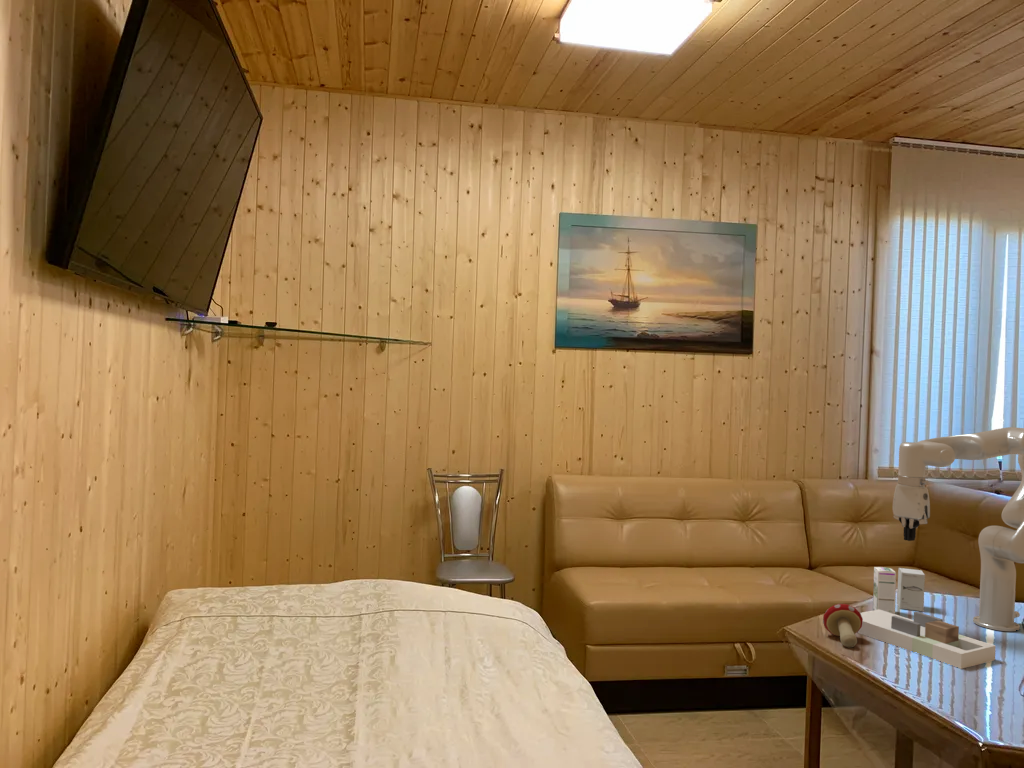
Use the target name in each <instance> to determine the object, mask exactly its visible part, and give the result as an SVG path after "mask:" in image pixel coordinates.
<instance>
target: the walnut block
mask: <svg viewBox="0 0 1024 768" xmlns="http://www.w3.org/2000/svg"><path fill="white" fill-rule="evenodd" d="M959 632H960V626H957V625H955V624H951V623H949V622H946V621H943V622H942V621H939V620H938V621H933V622H928V623H925V637H927V638H930V639H933V640H936V641H939V642H942V643H945V644H946V643H951V642H955V641H958V637H959V634H960V633H959Z"/></svg>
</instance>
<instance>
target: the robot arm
mask: <svg viewBox="0 0 1024 768" xmlns="http://www.w3.org/2000/svg"><path fill="white" fill-rule="evenodd" d="M898 449H899V451H898V470H897V471H898V475H897V476H898V477H897V484H895V488H894V493H893V500H892V513H893V516H892V517H893V519H895V520H897V521H899V522H900V523H901V526H902V527H903V540H904V541H908V542H912V541H913V542H914V541H915V539H916V537H917V533H916V532H917V530H916V529H918V527H919V526H920V525H927V524H928V519H930V517H931V502H930V494H929V490H928V487H925V486H926V485H929V480H926V466H929V467H935V468H947V467H948V466H951V465H952V464H953V463H954V462H955V460H963V461H964V460H965V461H978V460H979V461H981V460H986V459H992V458H997V457H1004V456H1009V455H1018V456H1017V463H1018V466H1019V468H1020V472H1021V482H1020V483H1019V486H1018V487H1017V489H1016V490H1015V492H1014V493H1013V494H1012V496H1011V498H1010V499H1009V500H1008V501H1007V503H1006V504H1005V506H1004V507H1003V509H1002V512H1001V520H1002V521H1003V522H1004V524H1005V525H1007V526H1009V527H1011V528H1009V527H1005V526H1002V525H1001V526H1000V525H988V526H986V527H984V528H982V529H981V531H980V532H979V534H978V541H977V542H978V548H979V554H980V578H979V581H980V583H979V584H980V585H979V605H978V615H975V616H974V617H973V619H972V622H973V623H974V624H976V625H977V626H979V627H982V628H986V629H989V630H993V631H1001V632H1017V631H1016V630H1018V631H1019V630H1020V627H1021V626H1020V624H1019V623H1017V622H1016V621H1015V619H1016V618H1020V617H1021V616H1020V615H1021V614H1020V612H1019V611H1017V610H1016V611H1015V607H1016V601H1015V600H1016V583H1017V582H1016V581H1017V569H1016V565H1015V563H1017V564H1024V427H1015V426H1011V427H1002V428H996V429H990V430H987V431H980V432H975V433H967V434H966V433H964V434H958V435H949V436H939V437H933V438H928V439H923V440H919V441H916V442H908V441H907V442H902V443H900V445H899V448H898ZM1012 528H1014V529H1012Z"/></svg>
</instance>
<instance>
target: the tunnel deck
mask: <svg viewBox="0 0 1024 768" xmlns="http://www.w3.org/2000/svg"><path fill="white" fill-rule="evenodd" d="M860 613H861V616H862V619H863V621H862V627H861V628H860V630H859V631H858V632H857V633H856V634H859V635H862V636H865V637H868V636H869V638H871V637H872V638H871V639H874V638H875V639H874V640H877V639H878V641H880V642H883V643H885V642H886V644H888V643H889V644H888V645H891V644H892V645H891V646H894V645H895V646H894V647H897V646H899V647H898V648H900V647H901V648H900V649H903V648H904V650H905V649H907V650H906V651H908V650H910V651H909V652H911V651H913V652H912V653H914V652H917V653H920V654H922V655H921V656H923V655H925V656H928V657H931V658H933V659H932V660H934V659H936V660H935V661H937V660H939V661H938V662H940V661H941V662H940V663H943V662H945V663H947V664H946V665H948V664H950V665H949V666H951V665H953V666H952V667H954V666H955V667H954V668H957V667H958V668H957V669H960V670H961V669H965V668H970V667H974V666H977V665H981V664H982V665H983V664H984V663H985V664H986V663H990V662H992V661H993V662H994V661H995V660H996V651H997V650H996V646H997V645H994V644H991V643H988V642H985V641H981V640H978V639H975V638H972V637H968V636H965V635H962V634H960V633H959V637H958V641H955V642H951V643H946V644H945V643H942V642H939V641H936V640H933V639H930V638H927V637H925V623H928V622H933V621H938V620H939V621H942V622H944V619H943V618H941V617H940V618H939V617H937V616H933V615H930V614H926V613H922V612H921V611H914V612H913V619H911V618H908V617H906V616H905V617H904V616H902V615H899V614H896V613H895V614H892V613H889V612H886V611H883V610H879V609H878V610H874V609H873V610H869V611H863V612H860ZM917 653H916V654H917ZM920 654H919V655H920ZM925 656H924V657H925ZM928 657H927V658H928ZM931 658H930V659H931ZM945 663H944V664H945Z"/></svg>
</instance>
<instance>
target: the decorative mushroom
mask: <svg viewBox="0 0 1024 768" xmlns="http://www.w3.org/2000/svg"><path fill="white" fill-rule="evenodd" d="M861 613H862V612H860V611H859V610H858V609H856V607H854V606H852V605H849V604H847V603H837V604H833V605H832V606H830V607H829V608H827V610H826V611H825V613H823V616H822V617H823V618H822V624H823V626H824V628H825V629H826V630H827V632H829V633H830V635H832V636H836V637H839V636H840V637H839V639H840V642H841V644H842V645H843V647H846V648H850V649H851V648H853V647H855V646H856V644H857V643H858V639H857V638H858V637H857V635H856V634H858V633H857V632H858V631H859V630H860V628H861V627H862V621H863V619H862V616H861Z"/></svg>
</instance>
